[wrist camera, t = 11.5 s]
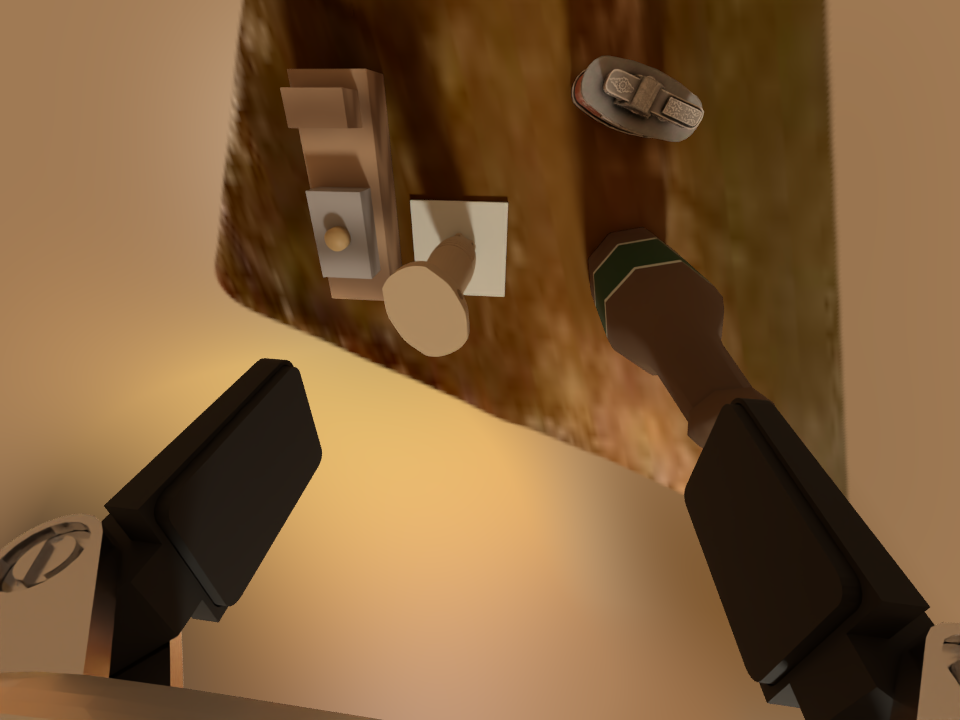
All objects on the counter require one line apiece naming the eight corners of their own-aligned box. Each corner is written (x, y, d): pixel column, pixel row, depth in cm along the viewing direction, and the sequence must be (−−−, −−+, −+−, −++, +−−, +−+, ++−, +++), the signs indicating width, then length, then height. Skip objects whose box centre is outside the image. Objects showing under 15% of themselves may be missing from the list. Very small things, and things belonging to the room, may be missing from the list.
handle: (455, 288, 41) (420, 365, 28) (422, 230, 38) (367, 286, 25) (497, 267, 39) (481, 340, 26) (466, 205, 36) (431, 253, 24)
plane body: (312, 74, 33) (260, 63, 26) (383, 74, 32) (347, 62, 26) (348, 283, 42) (316, 312, 36) (403, 286, 42) (381, 315, 35)
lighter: (563, 106, 32) (575, 102, 24) (583, 57, 30) (605, 33, 22) (652, 147, 33) (695, 156, 24) (677, 101, 31) (732, 94, 23)
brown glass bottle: (574, 294, 40) (621, 476, 20) (600, 215, 36) (694, 341, 16) (649, 311, 40) (774, 509, 20) (684, 234, 36) (887, 382, 16)
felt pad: (411, 199, 37) (410, 200, 37) (508, 202, 36) (508, 202, 36) (418, 291, 42) (417, 292, 41) (504, 295, 41) (504, 296, 41)
